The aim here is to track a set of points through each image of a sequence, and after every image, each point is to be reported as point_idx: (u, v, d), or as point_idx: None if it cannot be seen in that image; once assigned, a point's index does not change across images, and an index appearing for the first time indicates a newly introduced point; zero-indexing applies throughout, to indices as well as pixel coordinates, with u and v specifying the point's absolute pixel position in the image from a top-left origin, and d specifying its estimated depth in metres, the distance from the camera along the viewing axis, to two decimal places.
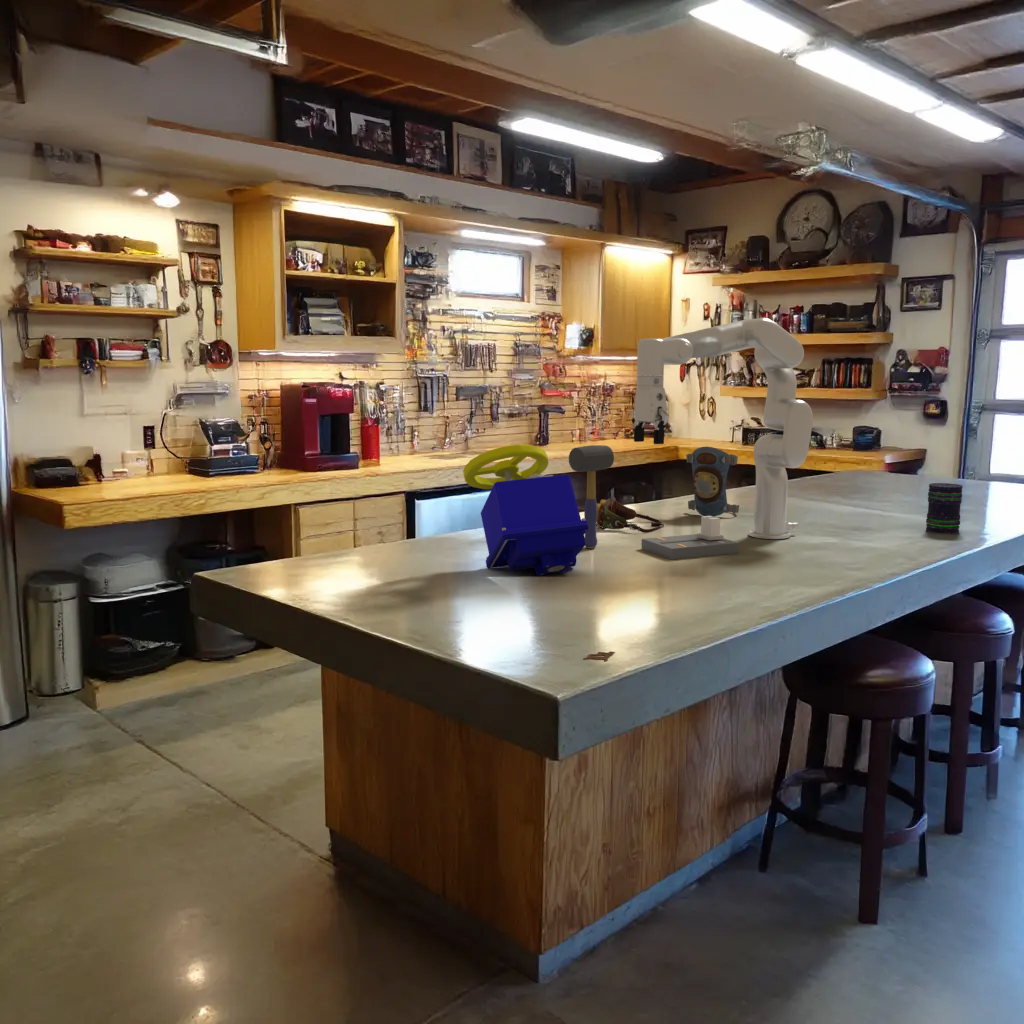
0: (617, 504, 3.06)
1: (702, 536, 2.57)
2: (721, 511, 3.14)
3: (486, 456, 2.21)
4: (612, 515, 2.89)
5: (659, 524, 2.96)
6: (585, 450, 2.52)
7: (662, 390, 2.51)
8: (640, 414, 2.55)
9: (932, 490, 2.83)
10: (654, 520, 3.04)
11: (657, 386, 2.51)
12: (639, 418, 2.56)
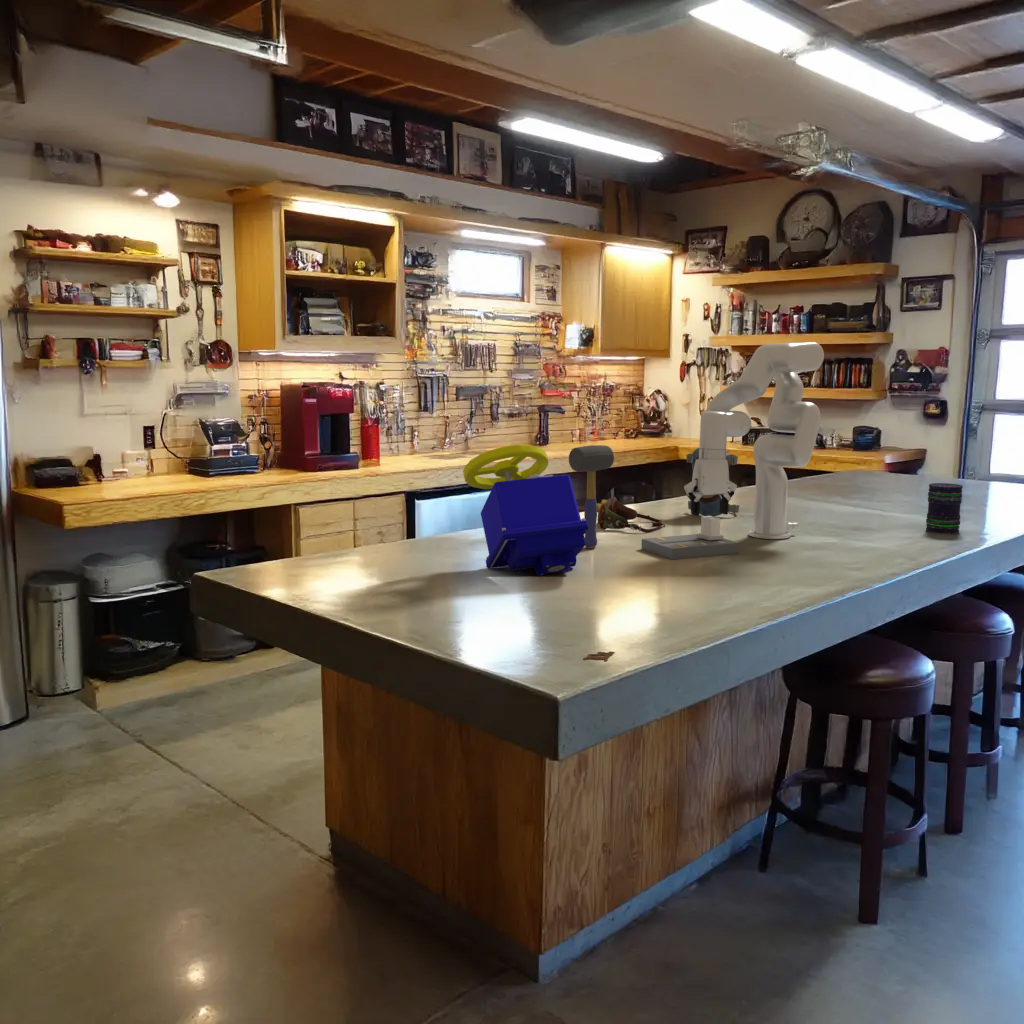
0: (618, 504, 3.06)
1: (702, 536, 2.57)
2: None
3: (486, 456, 2.21)
4: (613, 515, 2.89)
5: (660, 524, 2.96)
6: (585, 450, 2.52)
7: None
8: (712, 487, 2.53)
9: (932, 490, 2.83)
10: (655, 520, 3.04)
11: None
12: (709, 491, 2.53)
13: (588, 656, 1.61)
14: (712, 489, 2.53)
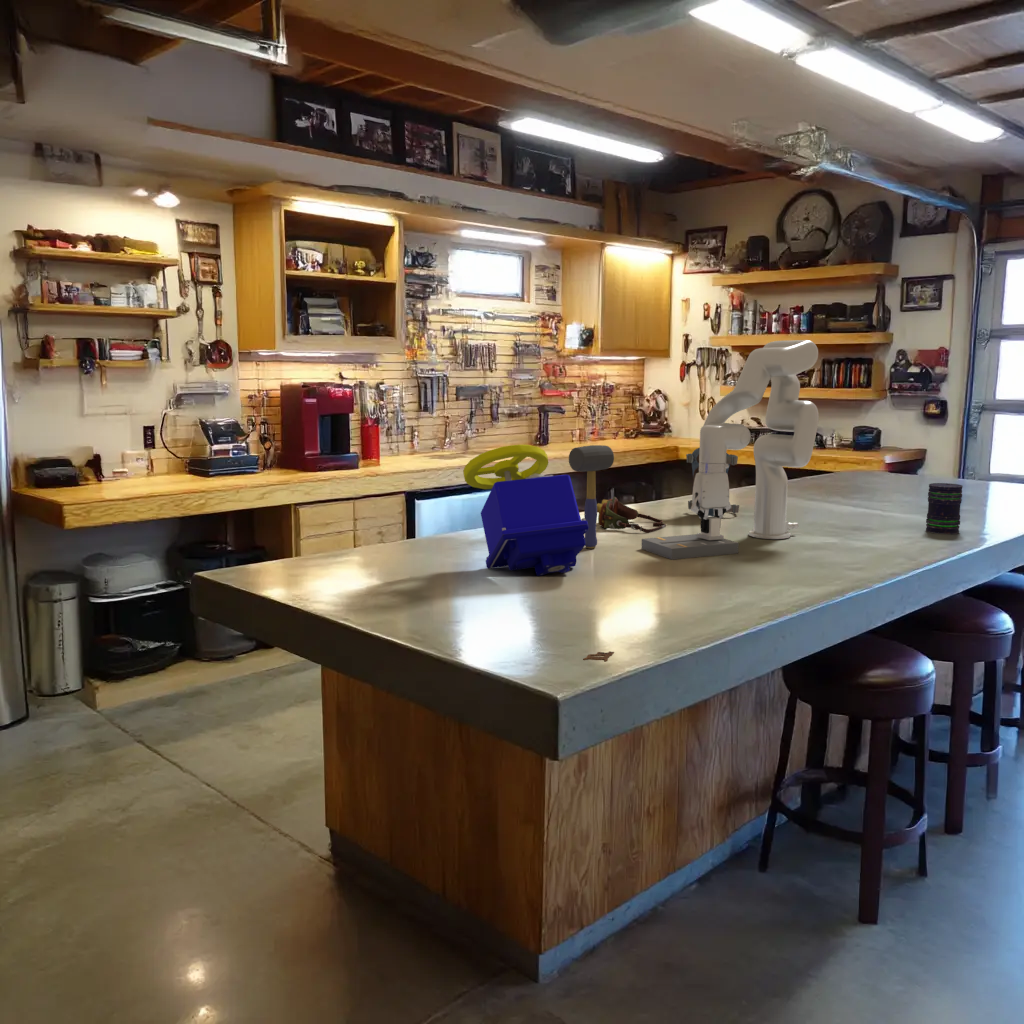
0: (619, 504, 3.06)
1: (702, 536, 2.57)
2: None
3: (486, 456, 2.21)
4: (614, 515, 2.89)
5: (661, 524, 2.96)
6: (585, 450, 2.52)
7: None
8: (712, 501, 2.54)
9: (932, 490, 2.83)
10: (656, 520, 3.04)
11: None
12: (710, 505, 2.54)
13: (588, 656, 1.61)
14: (713, 503, 2.54)
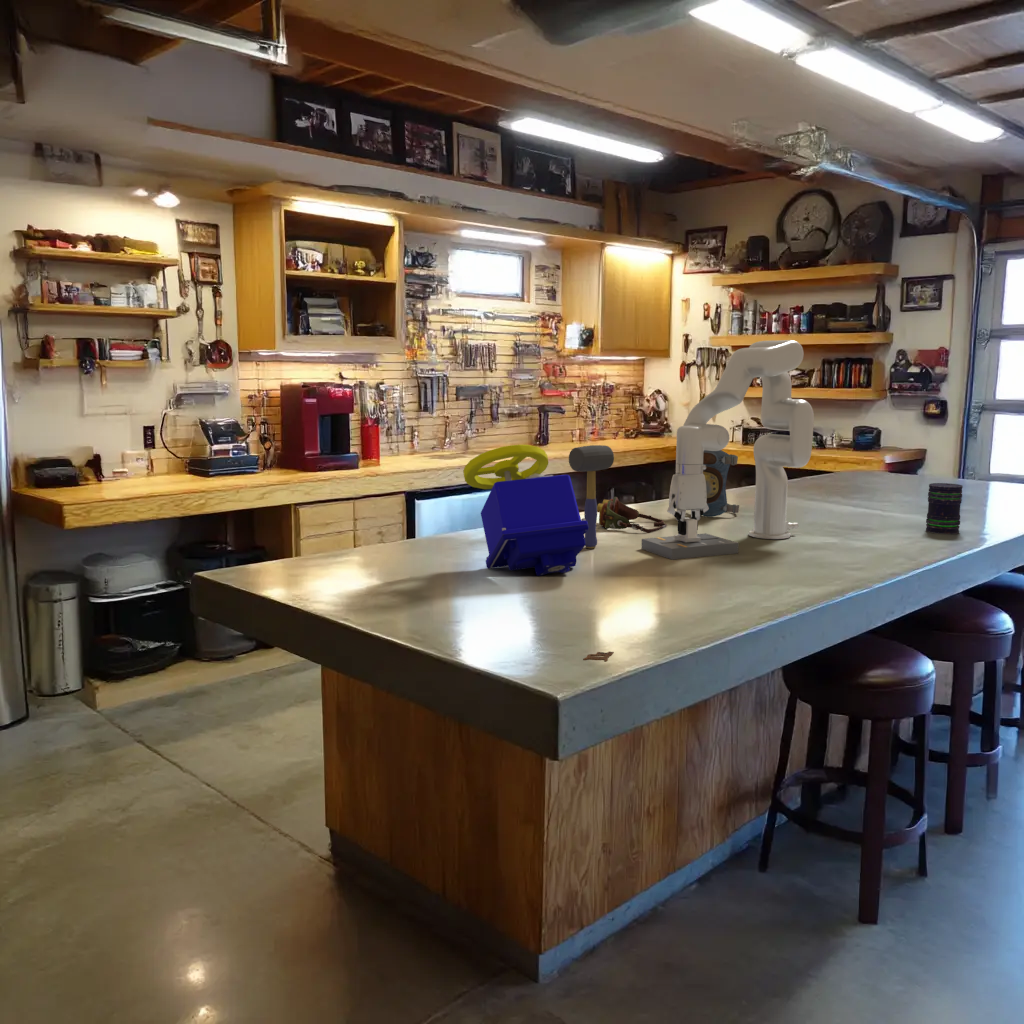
0: (620, 504, 3.06)
1: (679, 538, 2.54)
2: (721, 511, 3.14)
3: (486, 456, 2.21)
4: (615, 515, 2.89)
5: (662, 524, 2.97)
6: (585, 450, 2.52)
7: None
8: (689, 502, 2.51)
9: (932, 490, 2.83)
10: (657, 520, 3.04)
11: None
12: (687, 506, 2.51)
13: (588, 656, 1.61)
14: (689, 504, 2.51)
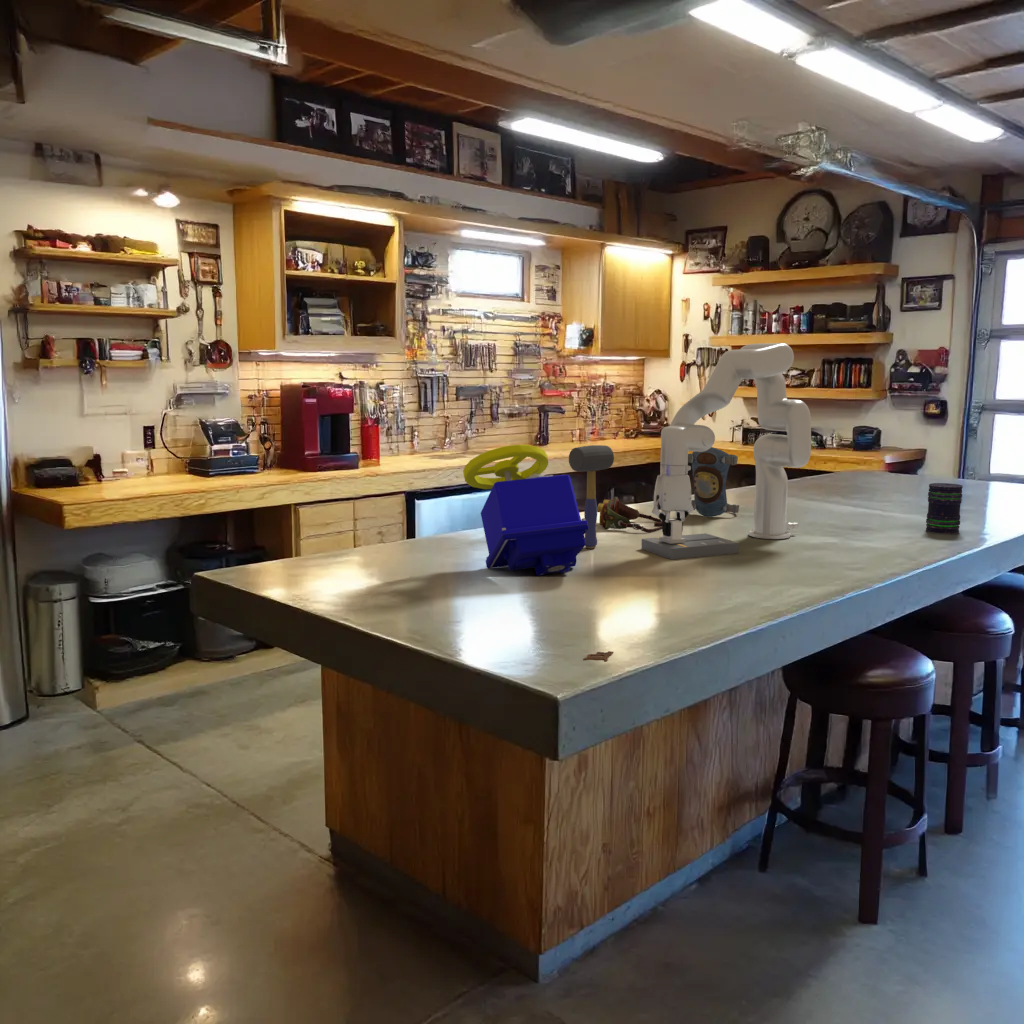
0: (620, 504, 3.06)
1: (664, 539, 2.52)
2: (721, 511, 3.14)
3: (486, 456, 2.21)
4: (615, 515, 2.89)
5: None
6: (585, 450, 2.52)
7: None
8: (674, 503, 2.49)
9: (932, 490, 2.83)
10: (657, 520, 3.04)
11: None
12: (671, 508, 2.49)
13: (588, 656, 1.61)
14: (674, 505, 2.49)
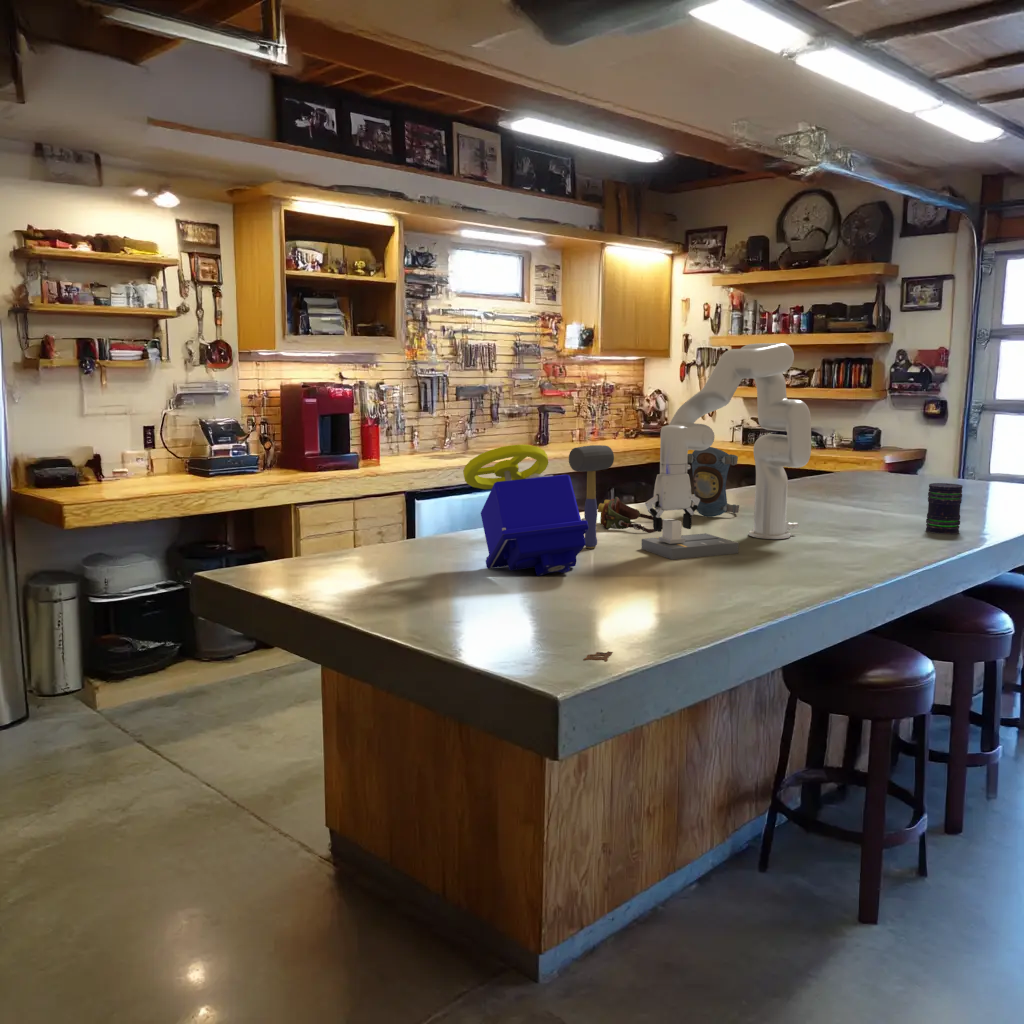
0: (621, 504, 3.06)
1: (663, 539, 2.52)
2: (721, 511, 3.14)
3: (486, 456, 2.21)
4: (616, 515, 2.89)
5: None
6: (585, 450, 2.52)
7: None
8: (673, 502, 2.49)
9: (932, 490, 2.83)
10: None
11: None
12: (671, 507, 2.49)
13: (588, 657, 1.61)
14: (674, 504, 2.49)
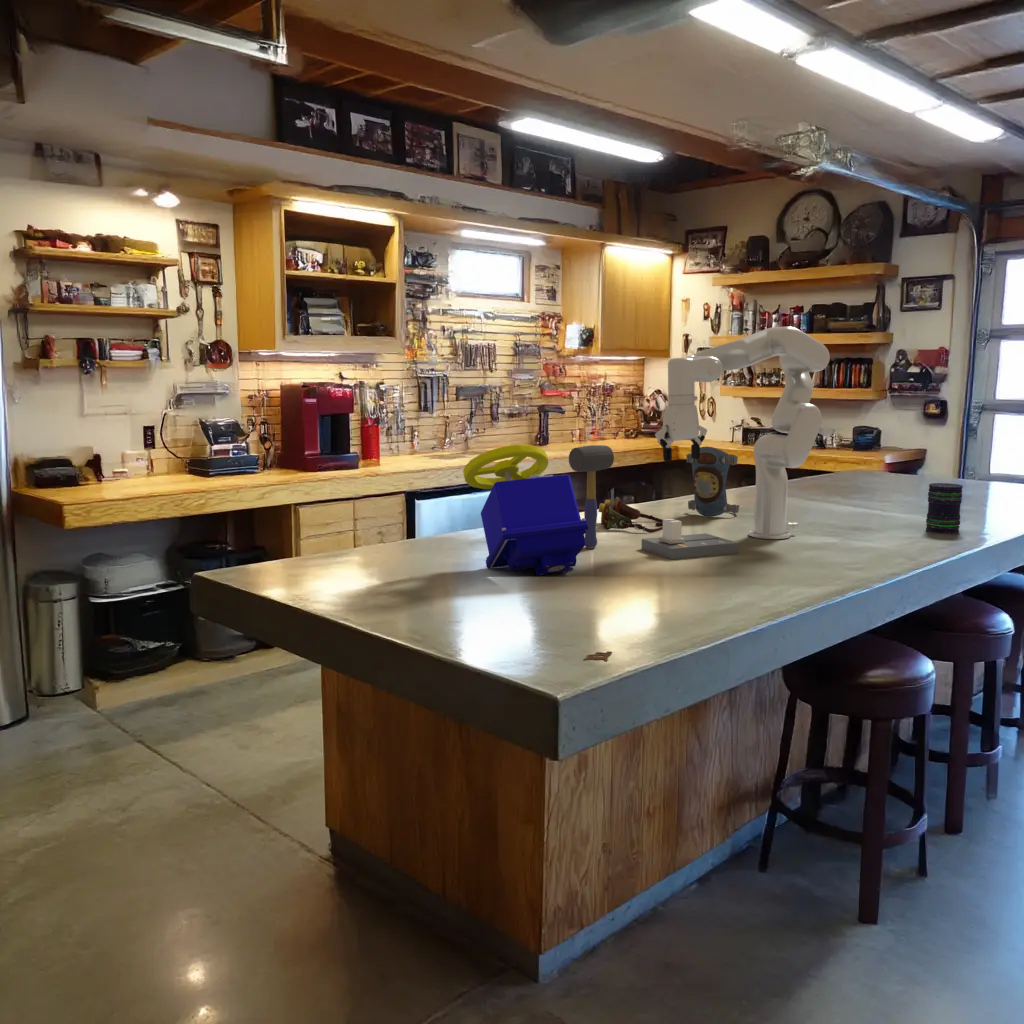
0: (621, 504, 3.06)
1: (663, 539, 2.52)
2: (721, 511, 3.14)
3: (486, 456, 2.21)
4: (617, 515, 2.89)
5: None
6: (585, 450, 2.52)
7: None
8: (682, 432, 2.57)
9: (932, 490, 2.83)
10: (658, 520, 3.05)
11: None
12: (680, 437, 2.57)
13: (587, 657, 1.61)
14: (683, 434, 2.57)
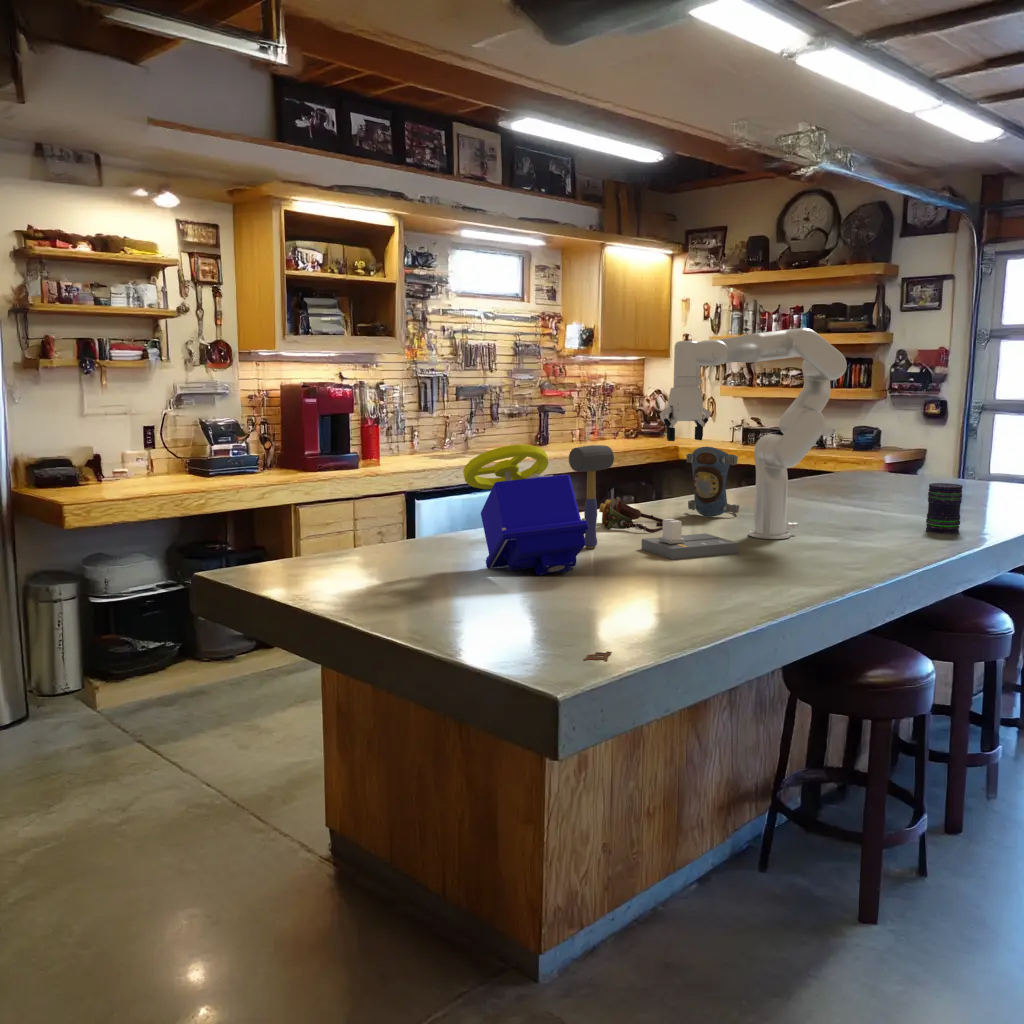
0: (622, 504, 3.06)
1: (663, 539, 2.52)
2: (721, 511, 3.14)
3: (486, 456, 2.21)
4: (618, 515, 2.89)
5: None
6: (585, 450, 2.52)
7: None
8: (686, 413, 2.65)
9: (932, 490, 2.83)
10: (659, 520, 3.05)
11: None
12: (684, 417, 2.65)
13: (587, 657, 1.61)
14: (686, 415, 2.65)
